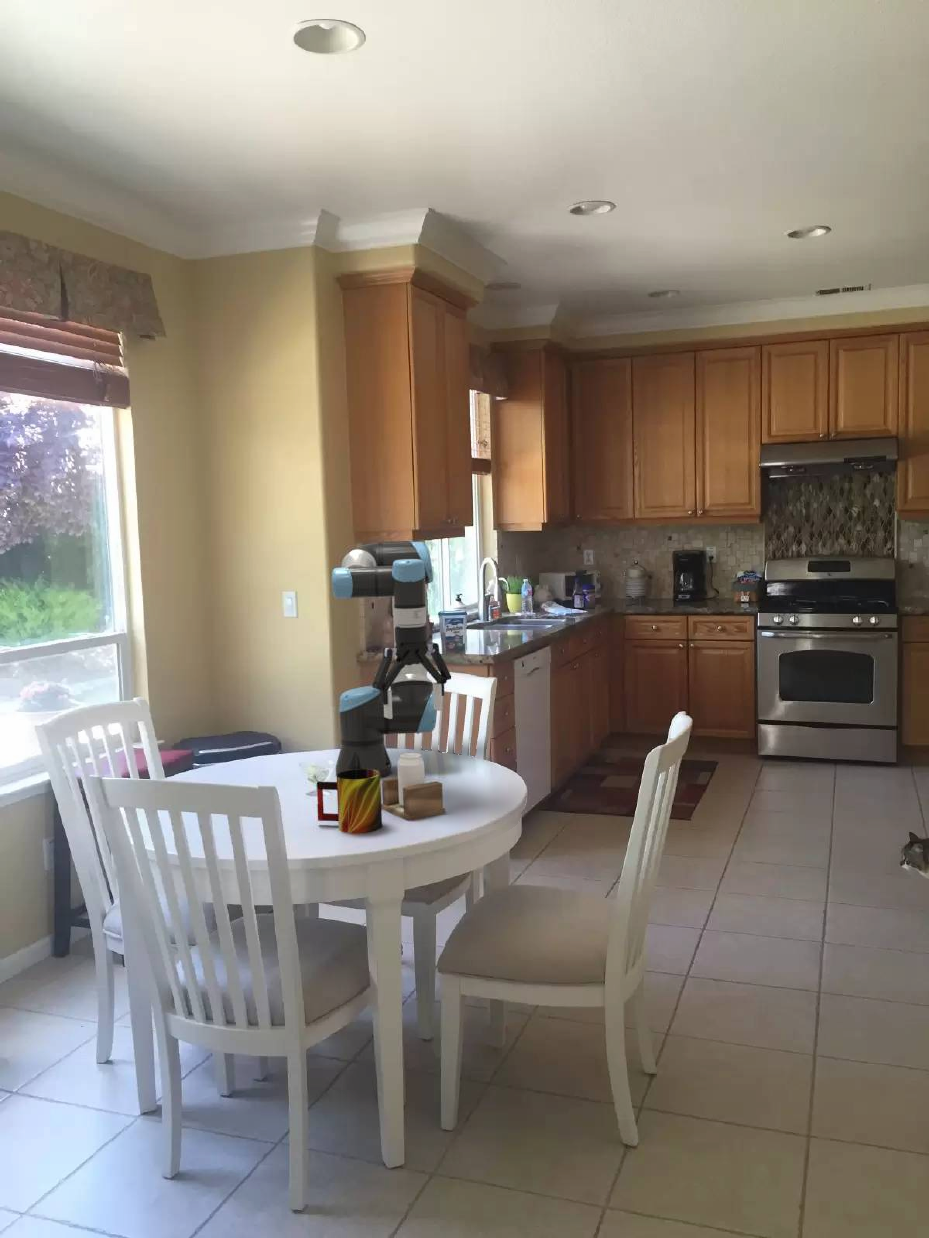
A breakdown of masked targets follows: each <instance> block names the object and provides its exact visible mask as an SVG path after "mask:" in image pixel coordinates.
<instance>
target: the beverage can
mask: <svg viewBox="0 0 929 1238" xmlns="http://www.w3.org/2000/svg"><path fill="white" fill-rule="evenodd" d="M424 761H425V760H424V759H423V757H422V754H421V753H418V752H407V753H406V752H405V753H402V754H400V755H399V759H398V761H397V764H396V765H397V776H398V790H399V804H401V805H402V806H403V787H409V786H414V785H419V784H425V783H426V780H425V779H426V778H425V777H426V775H425V774H426V773H425V762H424Z"/></svg>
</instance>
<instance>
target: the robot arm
mask: <svg viewBox="0 0 929 1238" xmlns="http://www.w3.org/2000/svg"><path fill="white" fill-rule="evenodd" d="M331 574H332V576H331V585H332V586H331V587H332V594H333V597H334V598H336V599H346V600H350V599H359V598H360V599H361V598H392V613H393V617H392V618H393V638H394V639H393V641H394V643H393V644H394V648H390V647H384V648H383V650H382V651H383V652H382V653H383V654H382V658H381V660H380V664H379V667H378V668H377V672H376V674H375V677H374V679H373V681H372V685H367V686H366V685H365V686H361V687H357V688H351V689H348V690H346V691H344V692H343V693H342V694H341V695H340V697H339V709H338V712H339V719H340V720H339V722H340V725H339V726H340V727H339V728H340V751H339V753H338V757H337V759H336V760H337V761H336V764H335V776H336V777H337V774H338V773H340V772H343V771H347V770H354V769H371V770H376V771H379V772H380V778H384V777H387V776H388V775H391V774H392V773H393V768H392V762H391V759H390V755H389V754H388V750H387V749H386V745H385V735H401V734H403V735H404V734H405V735H406V734H416V735H417V734H418V735H419V734H423V733H431V732H433V731H434V730H435V728H436V724H437V718H438V717H437V715H438V712H442V711H443V697H444V696H445V684H446V683H448V682H447V681H448V680H452V675H451V673H450V671H449V668H448V667H447V664H446V663H445V660H444V659H443V657H442V655H441V652H440V646H439V643H436V642H431V641H430V642H429V643H428V644H427V639H428V634H427V632H428V629H427V626H426V625H425V624H426V623H427V610H426V609H427V607H426V592H427V591H428V589H429V584H431V583H433V581H434V574H433V567H432V560H431V554H430V550H429V547H428V545H427V544H426V543H425V542H423V541H411V540H410V541H401V542H400V541H398V542H372V543H368V544H363V545H361V546H360V545H359V546H357V547H356V548H353V549H351V550H350V551H349V552H347V553H346V554H345V556H343V559H342V562H341V567H335V568H334V569H333V570H332V572H331ZM427 652H429V653H430V656H431V657H432V659H433V662H434V664H435V665H436V667H435V666H434V665H433V663H432V662H431V661H430V659H429V658H428V656H427V654H428V653H427ZM393 658H394V661H393ZM392 661H393V664H392ZM391 664H392V666H391ZM390 666H391V668H390ZM428 673H429V675H430V676H431V677H432V678H433V679H434V680H435V682H433V681H432V680H431V679H430V678H429V677H428ZM389 689H390V690H389Z"/></svg>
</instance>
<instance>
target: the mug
mask: <svg viewBox="0 0 929 1238" xmlns="http://www.w3.org/2000/svg"><path fill="white" fill-rule="evenodd" d="M324 790H326V791H330V790H331V791H336V792H337V793H336V795H337V796H336V797H337V813H331V812H330V813H327V812H324V811H325V810H324V793H323V792H324ZM381 790H382V782H381V777H380V772H379V771H376V770H371V769H354V770H347V771H343V772H340V773H338V774H337V776H336V781H317V782H316V791H317V792H316V797H317V804H316V805H317V806H316V808H317V821H318V822H338V823H337V824H338V830H339V831H340V832H341V833H345V834H353V835H354V834H356V835H357V834H361V835H362V834H368V833H374V832H376V831H378V830H381V828H382V827H383V816H382V815H383V814H382V811H383V809H381V804H382V791H381Z"/></svg>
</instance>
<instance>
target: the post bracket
mask: <svg viewBox="0 0 929 1238" xmlns="http://www.w3.org/2000/svg"><path fill="white" fill-rule="evenodd" d="M381 790H382V791H381V798H382V803H381V810H382V811H385V812H388V813H390V814H392V815H394V816H397V817H399V818H401V819H403V820H405V821H413V820H418V819H419V820H420V819H422V818H423V819H424V818H427V817H433V816H437V815H442V814H446V808H445V807H444V800H443V799H444V797H443V783H442V782H439V781H431V782H425V784H419V785H414V786H409V787H403V806H402V805H401V804H399V790H398V775H397V776H393V777H392V776H391V777H386V778H382V779H381Z"/></svg>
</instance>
